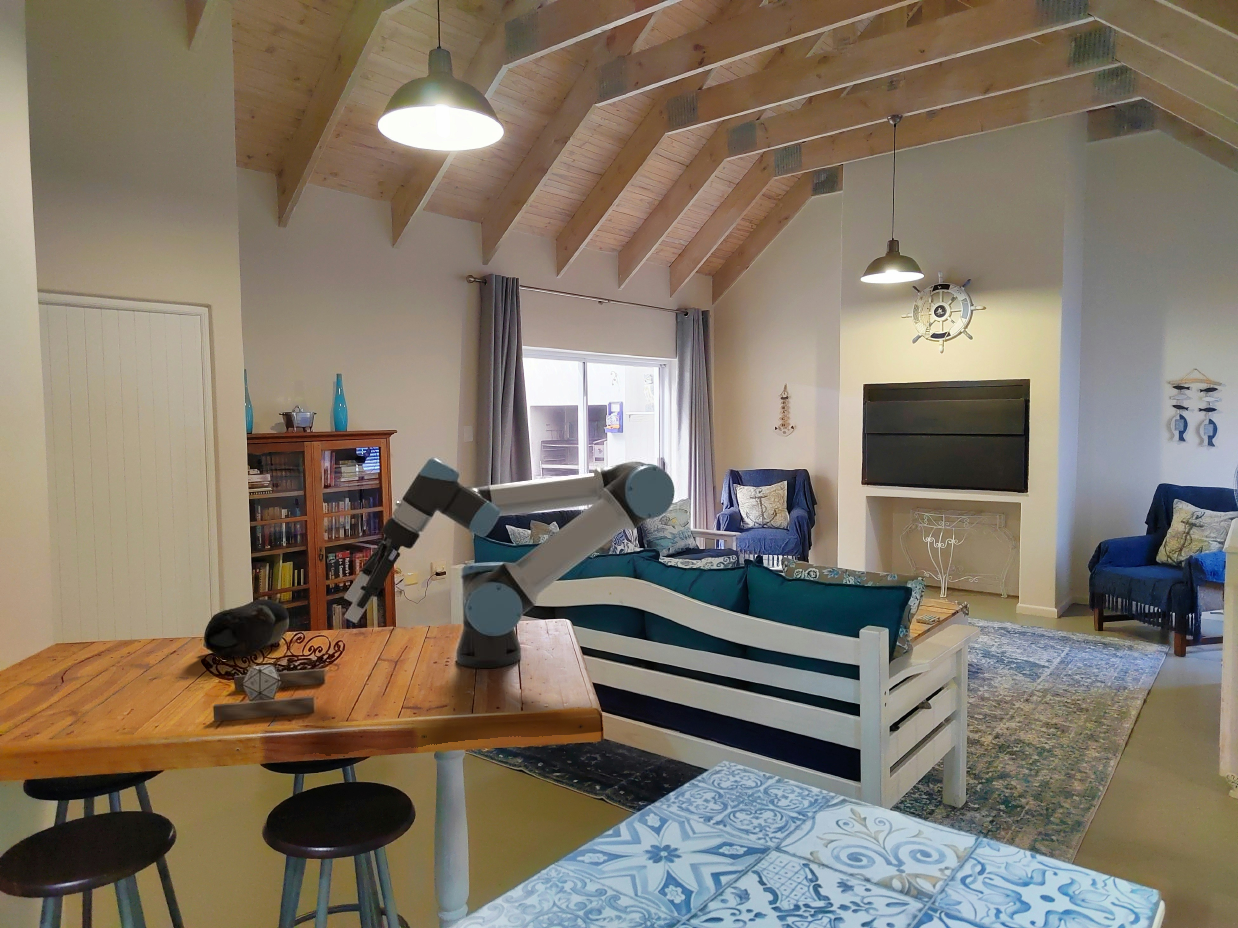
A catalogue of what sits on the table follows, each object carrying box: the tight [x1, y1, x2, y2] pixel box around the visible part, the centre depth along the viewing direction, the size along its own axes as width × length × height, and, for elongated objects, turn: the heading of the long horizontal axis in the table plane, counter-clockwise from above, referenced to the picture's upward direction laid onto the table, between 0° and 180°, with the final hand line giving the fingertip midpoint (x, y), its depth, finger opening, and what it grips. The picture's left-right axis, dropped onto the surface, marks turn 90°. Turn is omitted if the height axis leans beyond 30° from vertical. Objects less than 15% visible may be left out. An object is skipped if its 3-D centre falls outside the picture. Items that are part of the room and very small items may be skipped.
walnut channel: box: [212, 668, 326, 723], centre depth 162 cm, size 18×18×3 cm
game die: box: [238, 660, 285, 701], centre depth 162 cm, size 9×8×10 cm
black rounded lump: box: [203, 598, 290, 661], centre depth 197 cm, size 20×21×13 cm
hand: (349, 609), depth 167 cm, fingers open, 13 cm apart
